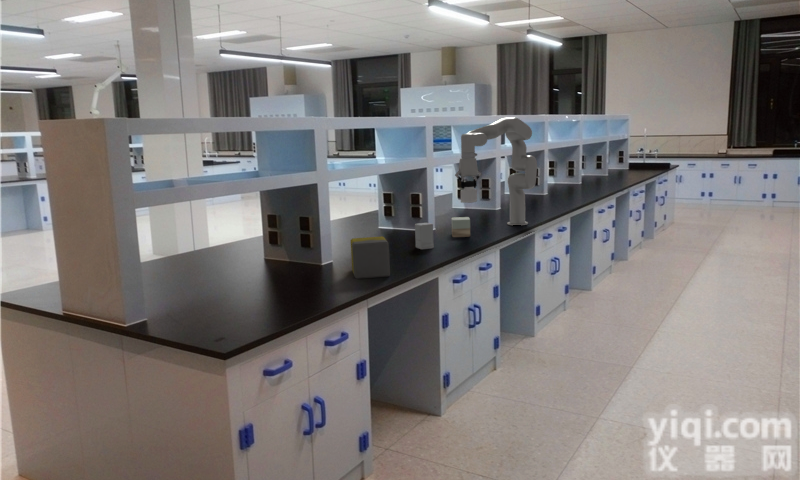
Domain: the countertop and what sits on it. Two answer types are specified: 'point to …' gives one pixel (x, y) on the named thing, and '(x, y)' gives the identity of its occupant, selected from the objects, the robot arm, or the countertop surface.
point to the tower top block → (460, 222)
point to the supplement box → (424, 235)
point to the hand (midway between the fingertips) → (468, 187)
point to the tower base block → (461, 232)
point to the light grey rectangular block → (468, 193)
